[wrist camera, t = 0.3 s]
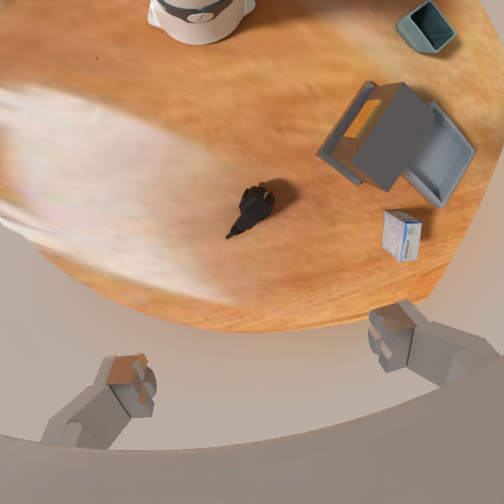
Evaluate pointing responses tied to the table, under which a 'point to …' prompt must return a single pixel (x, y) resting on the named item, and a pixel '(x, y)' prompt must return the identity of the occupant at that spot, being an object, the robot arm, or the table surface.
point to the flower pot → (425, 29)
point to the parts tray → (438, 159)
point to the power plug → (253, 209)
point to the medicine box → (401, 235)
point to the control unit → (377, 134)
